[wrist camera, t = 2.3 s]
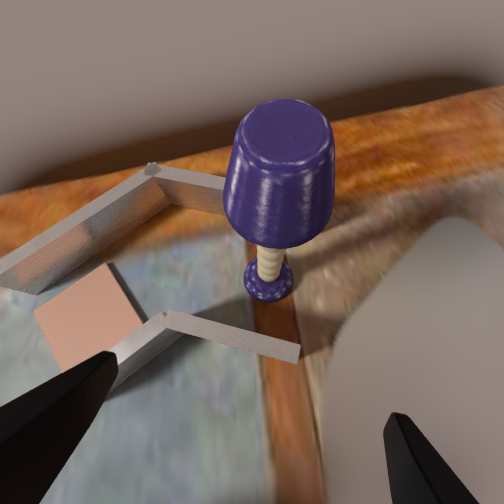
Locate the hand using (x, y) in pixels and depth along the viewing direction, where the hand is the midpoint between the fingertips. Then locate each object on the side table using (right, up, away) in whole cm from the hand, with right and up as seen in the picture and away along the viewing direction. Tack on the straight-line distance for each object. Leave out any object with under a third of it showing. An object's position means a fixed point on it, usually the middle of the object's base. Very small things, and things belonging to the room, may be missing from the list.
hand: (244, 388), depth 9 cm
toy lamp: (+2, +2, +15) cm, 15 cm away
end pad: (-14, -1, +14) cm, 20 cm away
